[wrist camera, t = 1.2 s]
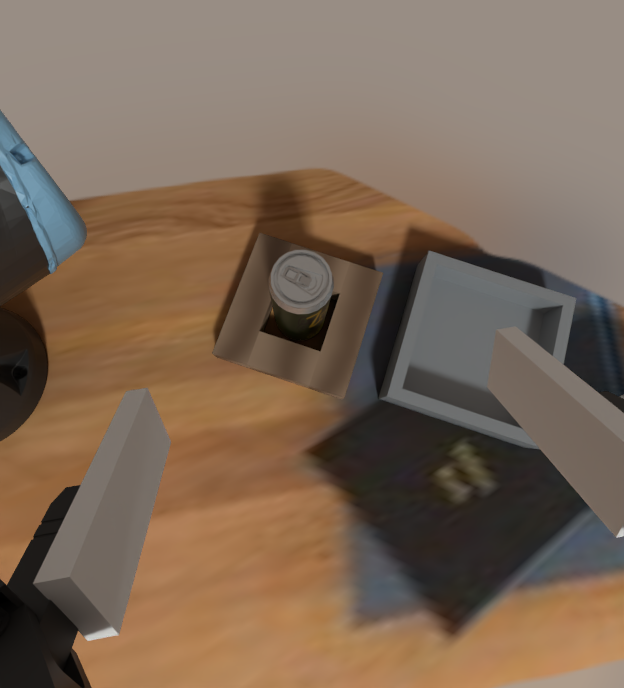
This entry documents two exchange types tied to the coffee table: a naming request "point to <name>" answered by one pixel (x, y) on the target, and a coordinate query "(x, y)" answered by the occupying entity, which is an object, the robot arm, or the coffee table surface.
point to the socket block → (287, 357)
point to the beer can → (300, 293)
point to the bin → (467, 342)
